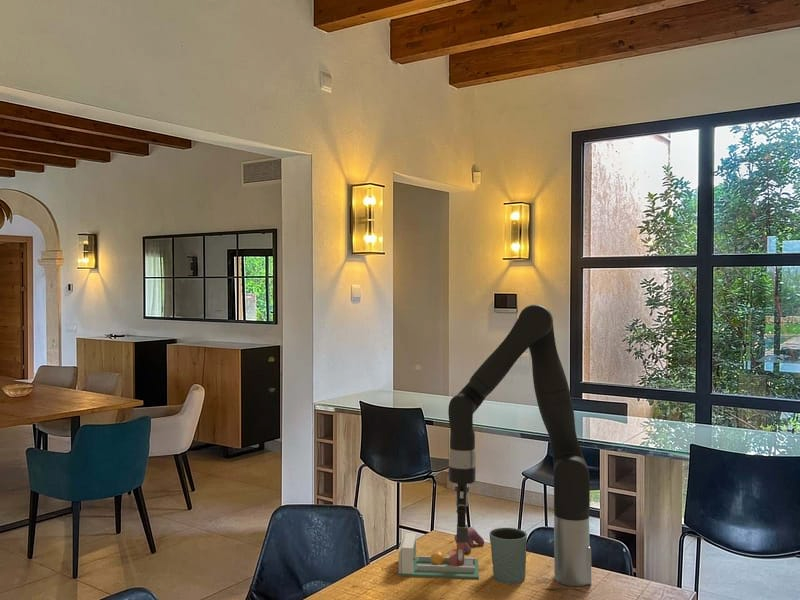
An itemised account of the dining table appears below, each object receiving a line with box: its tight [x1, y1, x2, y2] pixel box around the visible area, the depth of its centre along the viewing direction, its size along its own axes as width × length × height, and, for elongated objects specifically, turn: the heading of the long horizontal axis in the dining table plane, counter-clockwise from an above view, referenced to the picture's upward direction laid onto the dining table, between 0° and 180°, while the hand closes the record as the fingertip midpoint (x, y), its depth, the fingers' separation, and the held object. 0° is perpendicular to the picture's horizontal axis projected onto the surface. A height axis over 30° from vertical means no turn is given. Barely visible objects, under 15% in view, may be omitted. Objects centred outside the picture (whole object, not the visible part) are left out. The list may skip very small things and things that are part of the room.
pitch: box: [397, 555, 480, 580], centre depth 185 cm, size 22×13×2 cm, turn 84°
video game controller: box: [454, 526, 485, 554], centre depth 202 cm, size 10×5×7 cm, turn 144°
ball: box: [430, 550, 445, 565], centre depth 185 cm, size 4×4×4 cm
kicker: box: [449, 524, 473, 566], centre depth 185 cm, size 6×14×11 cm, turn 174°
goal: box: [398, 532, 417, 574], centre depth 186 cm, size 4×12×7 cm, turn 174°
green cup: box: [489, 527, 528, 585], centre depth 179 cm, size 10×10×12 cm
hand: (461, 522), depth 185 cm, fingers open, 8 cm apart
